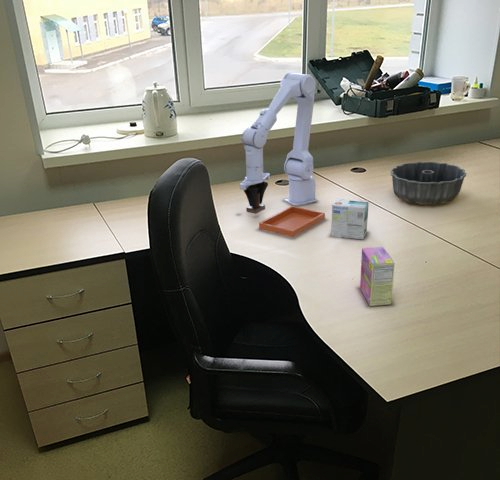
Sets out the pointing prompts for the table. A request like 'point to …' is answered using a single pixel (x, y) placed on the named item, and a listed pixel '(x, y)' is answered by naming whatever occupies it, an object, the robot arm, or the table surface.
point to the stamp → (258, 206)
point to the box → (376, 276)
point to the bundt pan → (427, 182)
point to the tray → (292, 221)
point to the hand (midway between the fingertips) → (255, 204)
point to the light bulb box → (349, 218)
